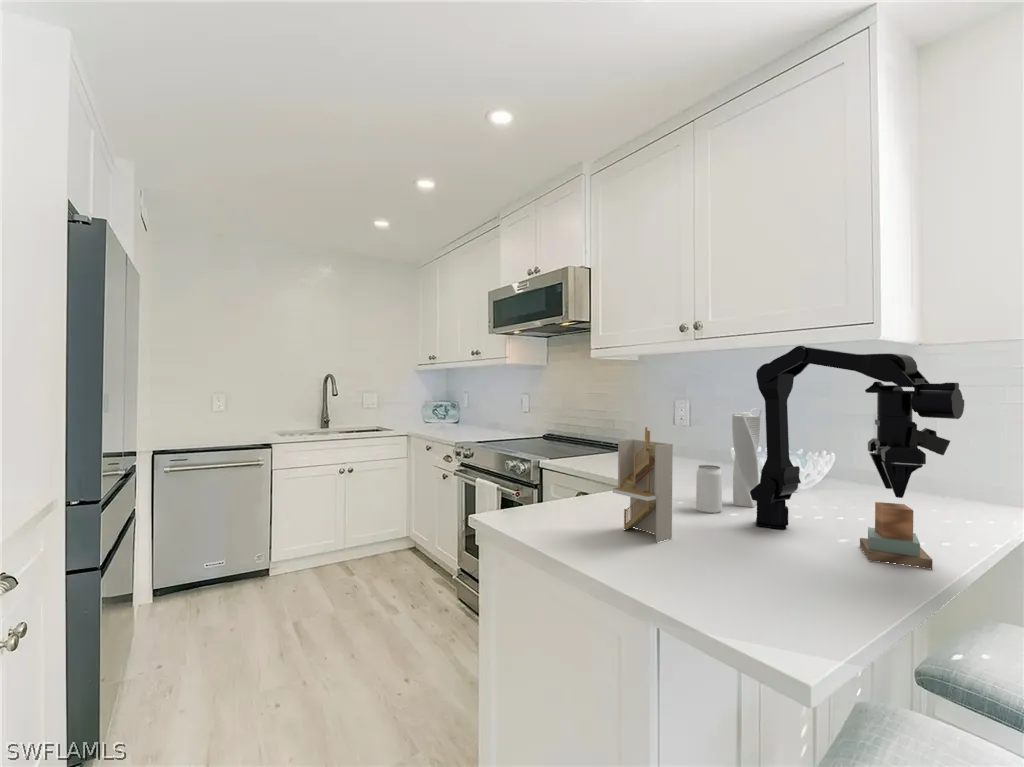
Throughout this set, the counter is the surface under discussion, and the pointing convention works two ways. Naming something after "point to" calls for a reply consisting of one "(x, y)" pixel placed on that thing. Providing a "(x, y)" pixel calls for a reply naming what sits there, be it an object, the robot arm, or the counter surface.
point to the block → (894, 521)
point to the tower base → (896, 556)
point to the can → (709, 489)
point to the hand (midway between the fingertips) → (893, 492)
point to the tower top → (893, 544)
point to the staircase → (646, 484)
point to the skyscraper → (745, 456)
